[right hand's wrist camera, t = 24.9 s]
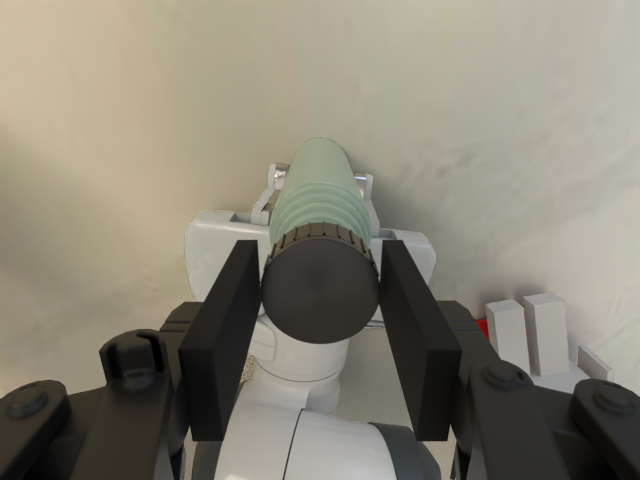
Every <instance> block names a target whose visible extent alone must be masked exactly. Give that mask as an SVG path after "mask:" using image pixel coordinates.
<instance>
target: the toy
mask: <svg viewBox="0 0 640 480" xmlns="http://www.w3.org/2000/svg"><path fill="white" fill-rule="evenodd" d="M523 301H524V308H523V307H522V306H521V305H520V304H519V303H517V302H516V301H515V300H514V299H509V300H503V301H498V302H492V303H487V304H485V307H486V315H487V319H482V320H477V321H475V322H477V324H478V325H479V327H480V328H481V331H483V333H484V334H485V336H486V337H487V339H488V340H489V342H490V343H491V345H492V346H493V348H494V349H495V351H496V352H497V354H498V355H499V357H500V358H501V360H505V361H508V362H510V363H512V364H514V365H516V366H518V367H520V368H521V369H522V370H523V371H525V372H526V373H527V374H528V375H529V377H530V378H531V380H532V381H533V383H534V385H537V386H541V387H544V388H549V389H553V390H558V391H562V392H567V393H571V394H573V391H574V388H575V385H576V384H577V383H578V382H579V381H580V380H584V379H590V378H593V379H601V380H606V381H609V382H613V379H614V370H613V369H612V368H610V367H609V366H608V365H607V364H606V363H605V362H603V361H602V360H601V359H600V358H599V357H598V356H597V355H595V354H594V353H593V352H592V351H591V350H590V349H588V348H587V347H586V346H585V345H579V351H578V366H577V365H576V364H575V363H573V362H572V361H571V360H570V359H569V354H568V341H567V327H566V314H565V300H563V299H562V298H560V297H559V296H557V295H556V294H554V293H553V292H547V293H541V294H536V295H530V296H525V297H523Z"/></svg>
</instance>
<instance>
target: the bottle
mask: <svg viewBox="0 0 640 480" xmlns="http://www.w3.org/2000/svg"><path fill="white" fill-rule="evenodd" d="M323 221H325V223H332V224H336V225H337V224H339V225H340V226H342V227H345V228H347V229H348V230H350V229H351V230H352V231H353V233H355V234H356V235H357V236H358V237H359V238H363V241H364V243H365V244H366V246H367V247H368V249H369V246H370V241H371V229H372V227H371V220H370V216H369V213H368V210H367V208H366V205H365V203H364V200H363V198H362V195H361V192H360V190H359V187H358V185H357V182H356V180H355V177H354V175H353V172H352V170H351V167H350V164H349V162H348V159H347V157H346V154H345V152H344V151H343V149H342V148H341V147H340V146H339V145H338V144H337V143H336V142H334V141H332V140H330V139H327V138H314V139H310V140H308V141H306V142H305V143H303V144H302V145H301V146H300V147H299V148H298V150H297V151H296V153H295V155H294V158H293V160H292V163H291V165H290V168H289V171H288V173H287V176H286V178H285V181H284V184H283V186H282V189H281V191H280V194H279V197H278V199H277V202H276V204H275V207H274V209H273V212H272V215H271V218H270V223H269V235H270V243H271V247H272V248H273V244H274V243H277V242H278V240H279V239H280V238H281V237H282V235H283V234H284V233H285V234H286V233H288V232H289V231H291V230H292V229H294V227H295V226H297V227H299V226H301V225H305V224H308V222H311V223H317V222H323Z"/></svg>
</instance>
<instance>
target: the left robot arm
mask: <svg viewBox="0 0 640 480" xmlns="http://www.w3.org/2000/svg"><path fill="white" fill-rule="evenodd" d="M288 171H289V165H287V164H280V163H270V165H269V170H268V183H267V186H266V188H265V189H264V191H263V192H262V193H261V195H260V196H259V198H258V199H257V201H256V202H255V204H254V205H253V207H252V209H251V213H243V212H234V211H225V210H216V209H203V210H201V211H200V212H199V213H198V214H197V215H195V216H194V217H193V218H192V219H191V220H190V222H189V223H188V224H187V226H186V228H185V231H184V250H185V261H186V269H187V275H188V281H189V286H190V289H191V292H192V294H193V296H194V298H195V299H196V300H197V301H198V302H204V300H205V299H206V297H207V295H208V293H209V291H210V289H211V288H212V286H213V284H214V282H215V280H216V278H217V277H218V275H219V273H220V271H221V269H222V267H223V266H224V264H225V262H226V260H227V258H228V256H229V255H230V253H231V251H232V249H233V247H234V245H235V244H236V242H237V240H258V254H259V270H260V282H261V278H262V275H263V272H264V270H263V269H264V265H265V262H266V259H267V256H268V254H269V255H270V253H271V251H272V247H271V243H270V235H269V223H270V218H271V214H272V205H271V204H268V203H267V202H268V200H269V199H270V197H271V196H272V195H273V193H274V192H275V190H281V189H282V186H283V184H284V181H285V178H286V176H287V173H288ZM353 175H354V177H355V180H356V182H357V185H358V187H359V190H360V192H361V195H362V198H363V200H364V203H365V205H366V208H367V210H368V213H369V216H370V220H371V227H372V229H371V241H370V246H369V248H370V249H371V252H372V255H373V259H374V260H375V263H376V266H377V269H378V272H379V275H380V270H381V254H382V240H403V242H404V244H405V245H406V247H407V249H408V251H409V253H410V255H411V256H412V258H413V260H414V262H415V264H416V266H417V267H418V269H419V271H420V273H421V275H422V277H423V278H424V280H425V282H426V284H427V286H428V284H429V282H430V279H431V276H432V273H433V270H434V267H435V264H436V259H437V256H436V252H435V250H434V248H433V246H432V244H431V243H430V242H429V240H428V239H427V238H426V237H425V236H424V235H423V234H422V233H420V232H414V231H404V230H395V229H386V228H380V222H379V219H378V217H377V214H376V211H375V209H374V206H373V204H372V201H371V199H370V197H371V191H372V185H373V176H372V174H366V173H356V172H353ZM378 278H379V282H380V277H378ZM260 285H261V284H260ZM364 328H366V329H372V328H373V329H375V328H376V329H378V328H379V329H386V328H385V325H384V321H383V317H382V314H381V310H380V306H379V305H378V308H377V310H376V312H375V314H374V316H373V318H372V319H371V320H370V322H369V323H368V324H367V325H366V326H365V327H364ZM349 340H350V338H348V339H345V340H342V341H340V342H335V343H330V344H310V343H305V342H302V341H298V340H296V339H293V338H291V337H289V336H288V335H286V334H284V333H283V332H282V331H280V330H279V329H278V328H277V327H276V326H275V325H274V324H273V323H272V322H271V320H270V319H269V318H268V316H267V314H266V312H265V310H264V308H263V305H262V303H261V306H260V310H259V314H258V317H257V321H256V325H255V328H254V332H253V335H252V339H251V343H250V346H249V350H248V354H250V355H252V356H253V358H254V371H253V374H252V377H251V379H250V380H249V381H246V380H245V381H243V382H241V383H240V384H239V387H238V390H237V394H236V398H235V401H234V405H233V408H232V412H231V416H230V419H229V423H228V427H227V430H226V434H225V438H224V441H198V442H197V446H196V450H195V455H194V461H193V468H192V478H191V480H441V472H440V467H439V465H438V463H437V462H436V460H435V459H434V457H433V456H432V454H431V453H430V451H429V450H428V449H427V447H426V446H425V445H424V444H423V443H422V441H416V438H415V434H414V432H413V431H412V430H411V429H410V428H408V427H405V426H397V425H389V424H381V423H373V422H368V423H363V422H359V421H354V420H349V419H345V418H340V417H335V416H336V412H337V407H338V402H339V397H340V383H339V375H340V373H341V371H342V369H343V367H344V365H345V362H346V357H347V351H348V346H349Z"/></svg>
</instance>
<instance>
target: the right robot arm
mask: <svg viewBox="0 0 640 480" xmlns="http://www.w3.org/2000/svg"><path fill="white" fill-rule="evenodd" d="M380 288H381V290H380V300H379V306H380V310H381V314H382V317H383V321H384V325H385V328H386V332H387V335H388V339H389V343H390V346H391V350H392V354H393V357H394V361H395V365H396V368H397V372H398V376H399V379H400V383H401V387H402V390H403V394H404V398H405V401H406V405H407V409H408V412H409V416H410V419H411V423H412V427H413V430H414V434H415V438H416V441H447V440H448V434H449V428H450V424H451V427H452V430H453V432H454V435H455V437H456V440H457V442H456V448H455V453H454V459H453V464H452V470H451V476H450V479H452V480H455V477H456V480H640V397H639V396H637V395H636V394H635V393H634V392H632V391H630V390H628V389H626V388H624V387H622V386H620V385H618V384H615V383H613V382H609V381H606V380H601V379H593V378H590V379H584V380H580V381H579V382H578V383H577V384H576V385H575V388H574V391H573V394H571V393H567V392H562V391H558V390H553V389H549V388H544V387H541V386H537V385H534V383H533V381H532V380H531V378H530V377H529V375H528V374H527V373H526V372H525V371H523V370H522V369H521V368H520V367H518V366H516V365H514V364H512V363H510V362H508V361H505V360H501V358H500V357H499V355H498V354H497V352H496V351H495V349H494V348H493V346H492V345H491V343H490V342H489V340H488V339H487V337H486V336H485V334H484V333H483V331H481V328H480V327H479V325H478V324H477V322H475V319H474V318H473V317H472V315H471V314H470V312H469V311H468V309H466V308H465V307H463V306H462V305H461V304H459V303H458V302H456V301H436V300H435V299H434V297H433V295H432V293H431V291H430V289H429V288H428V286H427V284H426V282H425V280H424V278H423V277H422V275H421V273H420V271H419V269H418V267H417V266H416V264H415V262H414V260H413V258H412V256H411V255H410V253H409V251H408V249H407V247H406V245H405V244H404V242H403V240H382V254H381V270H380ZM260 291H261V285H260V270H259V254H258V240H237V242H236V244H235V245H234V247H233V249H232V251H231V253H230V255H229V256H228V258H227V260H226V262H225V264H224V266H223V267H222V269H221V271H220V273H219V275H218V277H217V278H216V280H215V282H214V284H213V286H212V288H211V289H210V291H209V293H208V295H207V297H206V299H205V300H204V302H184V303H183V304H181V305H180V306H178V307H177V308H176V309H174V310H173V311H172V312H171V314H170V315H169V317H168V318H167V320H166V321H165V324H163V326H162V327H161V329H160V330H159V331H156V330H152V329H138V330H133V331H129V332H125V333H123V334H121V335H118V336H116V337H114V338H112V339H111V340H110V341H108V342H107V343H105V344H104V345H103V347H102V348H101V349H100V351H99V354H100V358H101V362H102V366H103V370H104V373H105V377H106V381H107V383H106V386H105V387H101V388H98V389H94V390H89V391H85V392H80V393H76V394H71V395H68V394H67V391H66V388H65V386H64V385H63V384H62V383H61V382H59V381H53V380H44V381H36V382H33V383H30V384H27V385H24V386H21V387H19V388H18V389H16V390H14V391H12V392H10V393H8V394H7V395H5V396H4V397H3V398H1V399H0V480H184V471H185V461H186V454H185V448H184V439H185V437H186V434H187V431H188V429H189V426H190V428H191V434H192V440H193V441H224V438H225V434H226V430H227V427H228V423H229V419H230V416H231V412H232V408H233V405H234V401H235V398H236V394H237V390H238V387H239V383H240V379H241V376H242V372H243V368H244V365H245V361H246V357H247V354H248V350H249V346H250V343H251V339H252V335H253V332H254V328H255V325H256V321H257V317H258V314H259V310H260V306H261V303H262V301H261V293H260Z"/></svg>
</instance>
